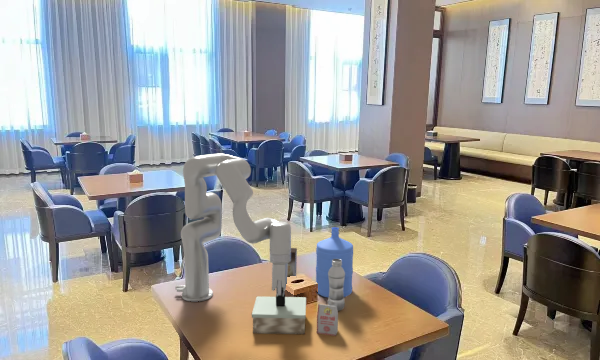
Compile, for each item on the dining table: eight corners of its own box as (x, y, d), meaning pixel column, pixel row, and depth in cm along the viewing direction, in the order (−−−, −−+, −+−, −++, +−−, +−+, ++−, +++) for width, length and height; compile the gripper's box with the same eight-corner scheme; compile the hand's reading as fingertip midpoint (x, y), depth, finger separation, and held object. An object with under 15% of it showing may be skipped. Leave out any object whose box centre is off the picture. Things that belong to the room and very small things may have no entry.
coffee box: (274, 286, 198) (274, 251, 195) (276, 280, 204) (276, 246, 202) (295, 287, 197) (295, 252, 195) (296, 281, 203) (297, 247, 201)
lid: (251, 317, 156) (251, 314, 156) (256, 299, 171) (256, 296, 170) (305, 318, 156) (305, 315, 156) (306, 300, 170) (306, 297, 170)
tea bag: (319, 328, 162) (319, 301, 160) (337, 330, 160) (338, 304, 158) (316, 333, 158) (317, 306, 156) (335, 335, 156) (336, 308, 155)
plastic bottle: (343, 313, 173) (345, 263, 170) (326, 312, 174) (327, 262, 171) (345, 306, 179) (346, 258, 176) (328, 304, 180) (329, 256, 177)
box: (252, 333, 158) (252, 317, 157) (257, 314, 171) (257, 299, 170) (304, 334, 157) (304, 318, 156) (305, 315, 171) (305, 300, 170)
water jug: (353, 299, 186) (355, 233, 181) (315, 298, 186) (316, 233, 181) (350, 284, 201) (352, 223, 196) (315, 284, 201) (316, 223, 197)
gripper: (271, 249, 167) (272, 296, 170) (267, 263, 153) (268, 314, 156) (291, 250, 167) (291, 297, 170) (289, 264, 152) (289, 315, 155)
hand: (280, 305), depth 163 cm, fingers closed
